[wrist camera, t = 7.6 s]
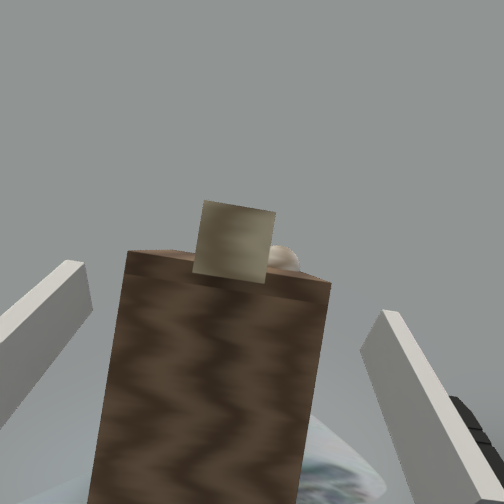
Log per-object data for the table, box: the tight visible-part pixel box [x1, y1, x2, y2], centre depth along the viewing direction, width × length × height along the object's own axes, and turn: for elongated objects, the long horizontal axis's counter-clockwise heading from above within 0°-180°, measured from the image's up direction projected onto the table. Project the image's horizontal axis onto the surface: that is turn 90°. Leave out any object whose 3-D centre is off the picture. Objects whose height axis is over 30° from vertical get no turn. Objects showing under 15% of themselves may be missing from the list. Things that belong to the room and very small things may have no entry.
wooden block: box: [87, 246, 331, 504], centre depth 32 cm, size 18×16×37 cm
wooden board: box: [192, 200, 276, 284], centre depth 27 cm, size 4×23×4 cm, turn 3°
